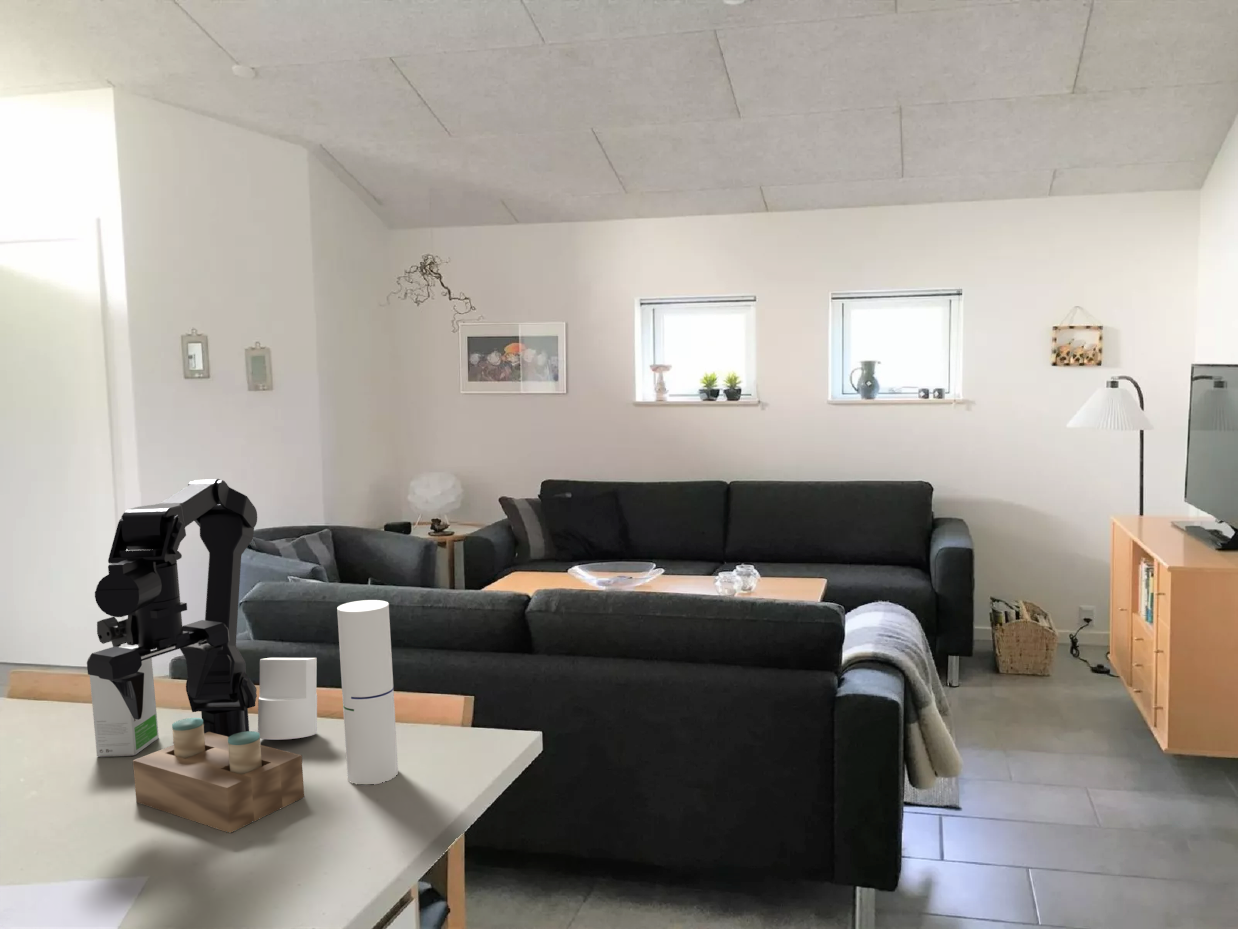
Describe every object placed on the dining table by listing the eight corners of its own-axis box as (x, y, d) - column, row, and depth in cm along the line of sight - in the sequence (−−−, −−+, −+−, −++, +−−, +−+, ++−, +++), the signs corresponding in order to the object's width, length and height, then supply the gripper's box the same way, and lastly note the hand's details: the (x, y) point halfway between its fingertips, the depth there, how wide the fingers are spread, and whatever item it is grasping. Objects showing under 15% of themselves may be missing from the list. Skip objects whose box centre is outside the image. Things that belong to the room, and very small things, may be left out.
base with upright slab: (327, 730, 162) (328, 656, 163) (296, 740, 154) (297, 661, 155) (278, 729, 164) (279, 655, 166) (245, 738, 156) (247, 661, 157)
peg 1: (194, 754, 142) (191, 716, 142) (212, 759, 140) (209, 720, 140) (169, 764, 139) (165, 725, 138) (186, 769, 137) (183, 729, 136)
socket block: (211, 770, 147) (208, 731, 147) (304, 797, 137) (301, 755, 136) (136, 802, 137) (132, 760, 136) (230, 833, 127) (226, 787, 126)
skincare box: (134, 757, 154) (126, 659, 152) (92, 758, 154) (84, 660, 153) (160, 737, 162) (153, 644, 161) (120, 738, 162) (113, 645, 161)
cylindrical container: (385, 786, 139) (375, 612, 137) (338, 783, 141) (327, 611, 139) (406, 766, 146) (396, 600, 144) (361, 764, 148) (351, 599, 146)
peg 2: (249, 769, 136) (246, 729, 136) (268, 775, 134) (265, 734, 133) (224, 780, 133) (221, 739, 132) (243, 786, 131) (240, 744, 130)
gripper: (174, 579, 148) (183, 680, 150) (55, 609, 132) (66, 722, 134) (227, 585, 143) (235, 689, 145) (110, 616, 127) (120, 734, 128)
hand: (166, 707), depth 138 cm, fingers open, 9 cm apart
